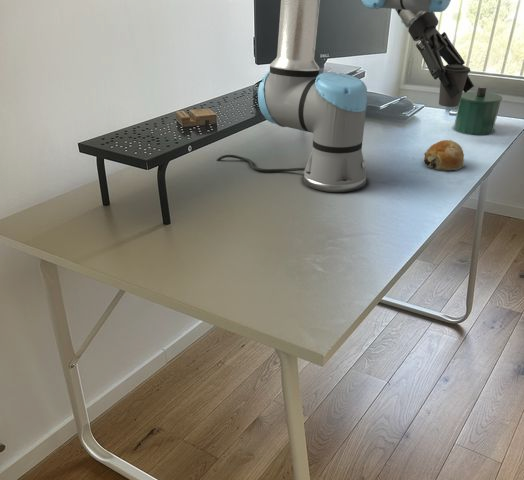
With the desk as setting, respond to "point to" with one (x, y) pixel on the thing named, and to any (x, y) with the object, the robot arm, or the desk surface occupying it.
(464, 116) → the pot
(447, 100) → the coffee cup
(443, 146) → the bread roll
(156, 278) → the desk surface
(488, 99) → the pot lid
